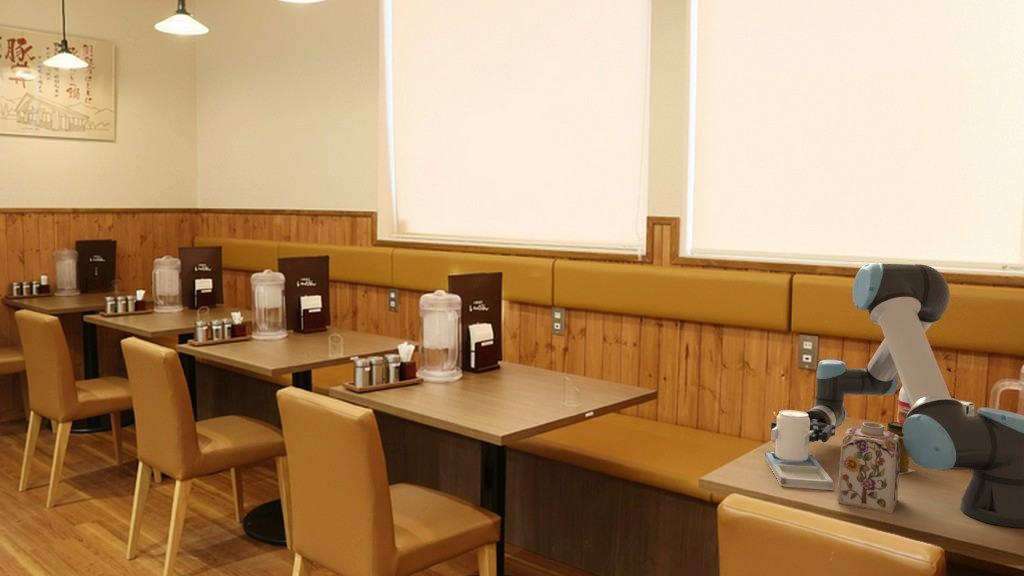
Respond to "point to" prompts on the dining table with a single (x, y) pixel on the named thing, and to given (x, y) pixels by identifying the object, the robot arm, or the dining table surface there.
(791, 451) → the beverage can
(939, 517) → the dining table surface
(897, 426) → the condiment
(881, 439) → the decorative jar
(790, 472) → the divided tray
